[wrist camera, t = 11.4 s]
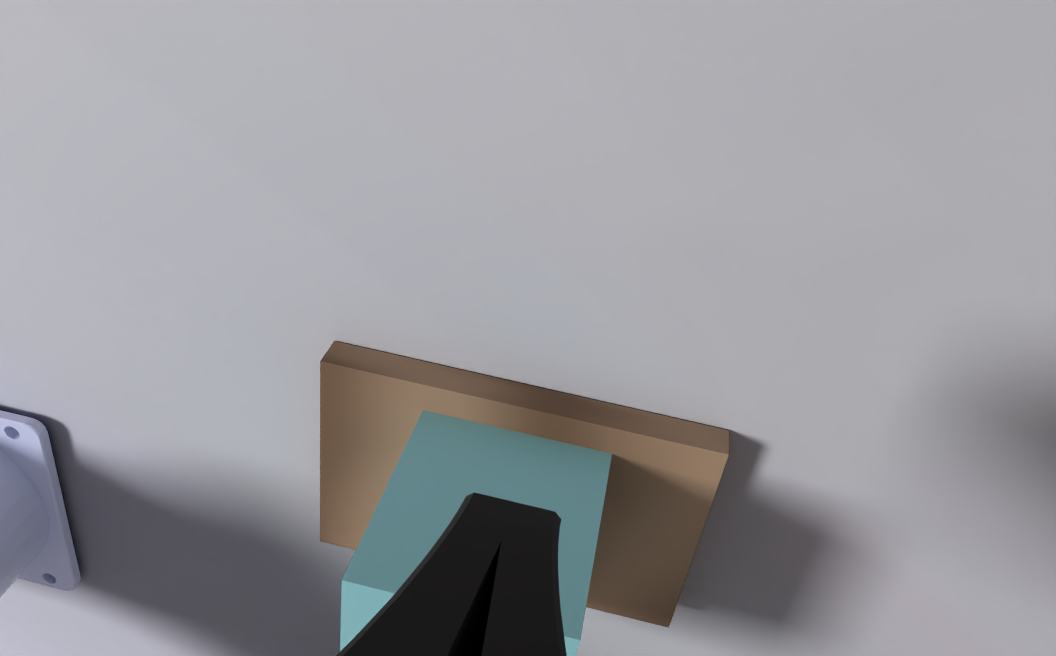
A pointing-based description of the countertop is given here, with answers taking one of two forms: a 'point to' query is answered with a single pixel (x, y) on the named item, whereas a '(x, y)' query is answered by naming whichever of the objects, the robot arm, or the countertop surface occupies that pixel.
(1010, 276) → the countertop surface
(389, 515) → the teal matte cube
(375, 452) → the brown rectangular board
